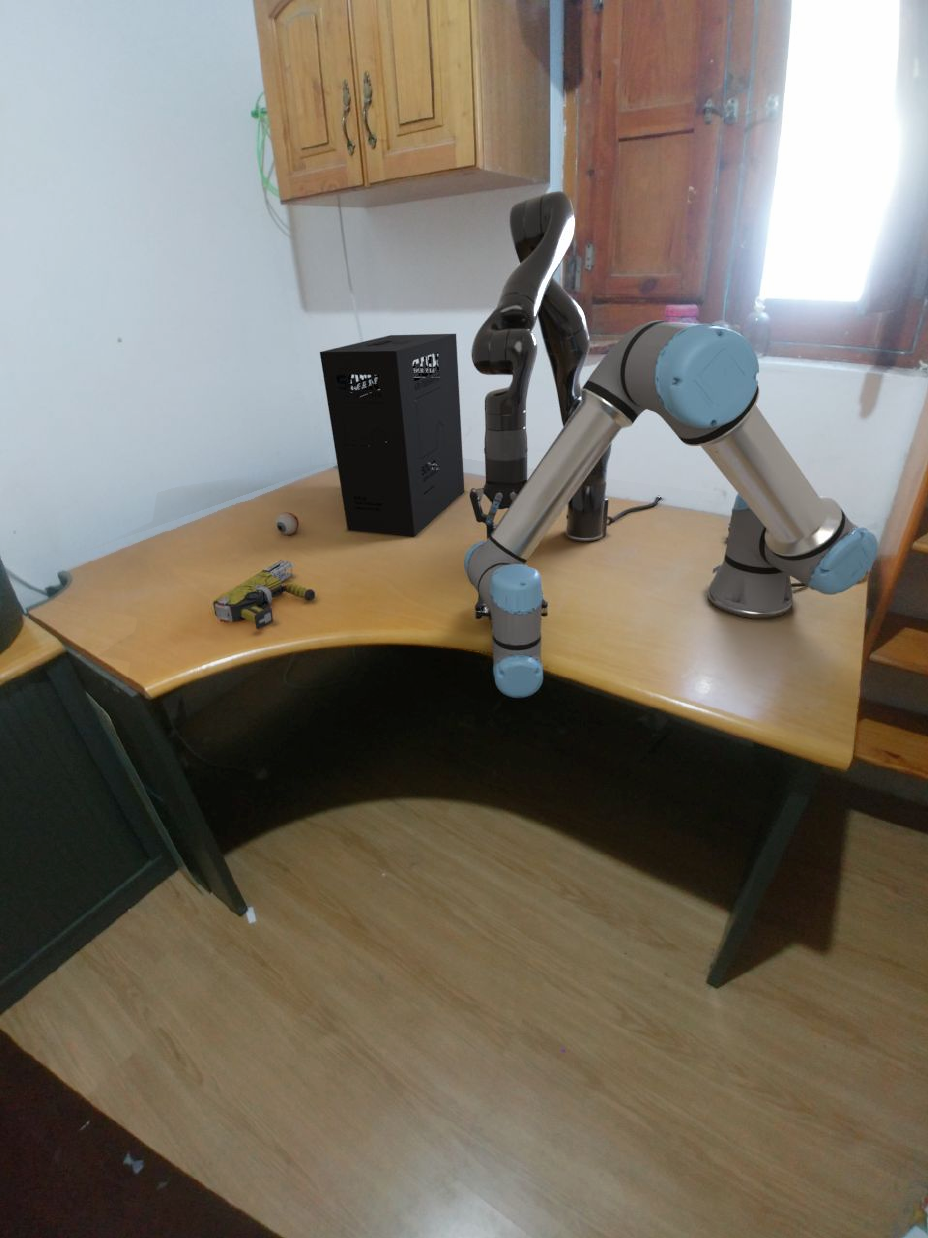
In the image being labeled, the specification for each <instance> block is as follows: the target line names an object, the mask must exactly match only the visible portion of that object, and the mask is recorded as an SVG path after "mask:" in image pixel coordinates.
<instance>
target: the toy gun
mask: <svg viewBox="0 0 928 1238" xmlns="http://www.w3.org/2000/svg"><path fill="white" fill-rule="evenodd" d="M288 569H290V570H291V571H290V572H287V570H288ZM292 576H293V565H292V562H291V561H290V560H286V561H285V560H284V559H280V560H279V561H277V562H275V563H273V565H271V566H269V567H268V568H266V569H262V570H261V571H259V572H258V573H255V575H253V576H251V577H250V578H248V579H246V580H245V581H243V582H241V583H240V584H238V585H236V586H234V587H233V588H232V589H230V590H228V591H227V592H225V593H224V594H222V595H220V596H219V597H217V598H216V599H214V600H213V601H212V605H213V612H214V616H215V617H216V618H217V619H219V622H221V623H225V624H227V623H229V622H230V623H236V622H238V623H239V622H242V621H246V620H247V621H249V622H252V623H254V624H255V628H256V630H261V629H263V628H264V627H266V626H268V625H270V624H271V623H273V622H274V615H273V609H272V607H271V605H272V603H273V599H274V598H276V597H279V596H281V595H282V594H283V593H287V594H291V595H293V596H296V597H299V598H300V599H304V600H306V601H308V602H311V601H312V600H314V599H315V598H316V593H315V591H314V589H312V588H307V587H305V586H302V585H299V584H296V583H293V582H292V581H289V582H286V584H285V585H284V584H283V583H282V582H284V581H286V580H287V579H288V578H290V577H292Z"/></svg>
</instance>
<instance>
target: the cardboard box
mask: <svg viewBox="0 0 928 1238" xmlns="http://www.w3.org/2000/svg"><path fill="white" fill-rule="evenodd" d="M457 341H458V340H457V333H429V334H427V333H424V334H423V333H421V334H389V335H386V336H381V337H377V338H373V339H368V340H364V341H360V342H355V343H351V344H348V345H344V346H340V347H335V348H331V349H326V350H323V351H319V358H320V364H321V370H322V376H323V382H324V388H325V396H326V401H327V407H328V414H329V421H330V426H331V432H332V433H331V434H332V440H333V446H334V451H335V452H334V453H335V458H336V459H335V460H336V465H337V471H338V478H339V484H340V490H341V496H342V501H343V503H342V504H343V509H344V515H345V522H346V529H347V530H348V531H356V532H365V533H377V534H384V535H385V534H387V535H396V536H406V537H416V536H417V535H418V534H419V533H421V532H422V531H423V530H424V529H425V528H426V527H427V526H428V525H429V524H430V523H431V522H433V520H435V519H436V518H437V517H438V516H439V515H440V514H442V513H443V512H444V510H446V509H447V508H448V507H449V506H450V505H451V504H452V503H454V502H455V501H456V500H457V499H458V498H459V497H460V496H462V494H463V493H465V475H464V474H465V473H464V459H463V457H464V455H463V437H462V418H461V417H462V416H461V399H460V398H461V397H460V379H459V361H458V360H459V359H458V343H457ZM433 356H434V357H433ZM422 358H423V361H422ZM416 360H418V363H417V361H416ZM434 362H435V365H434ZM421 364H422V365H421ZM352 376H353V377H352ZM356 376H357V378H356ZM361 376H362V377H361ZM369 376H370V377H369ZM362 378H363V379H362Z"/></svg>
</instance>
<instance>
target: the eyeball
mask: <svg viewBox="0 0 928 1238" xmlns="http://www.w3.org/2000/svg"><path fill="white" fill-rule="evenodd" d="M299 525H300V522H299V519H298V517H297V516H296V515H295V514H294V513H292V512H287V511H286V512H282V513H280V514H279V515H278V516H277V517H276V520H275V527H276V529H277V530H278V531H279V532H280V533H281V534H282V535H285V536H286V535H287V536H289V535H293V534H295V533H296V532H297V531H298V529H299Z"/></svg>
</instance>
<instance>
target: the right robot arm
mask: <svg viewBox="0 0 928 1238" xmlns="http://www.w3.org/2000/svg"><path fill="white" fill-rule="evenodd" d="M758 359H759V358H758V357H757V353H756V351H755V348H754V347H753V345H752V344H751V343H750V342H749V340H748V339H747V338H746V337H745V336H743V335H742V334H740V333H739V332H737V331H735V330H733V329H729V328H727V327H724V326H722V325H717V324H715V323H714V324H713V323H690V322H677V321H670V320H652V321H648V322H644V323H642V324H640V325H638V326H636V327H634V328H633V329H632V330H630V331H629V332H627V333H625V334H624V335H623V336H622V337H621V338H620V339H619V340H617V342H616V343H615V344H614V345H613V346H612V347H611V348H610V350H608V352H607V353H606V354H605V356H603V358H602V359H601V361H600V362H598V364H597V366H596V367H595V369H594V370H593V371H592V372H591V374H590V375H589V377H588V378H587V380H586V381H585V382H584V385H583V386H582V387H581V390H580V393H581V402H580V404H579V405H578V407H577V408H576V410H575V411H574V412H573V414H572V415H571V417H570V418H569V420H568V421H567V423H566V424H565V426H564V427H563V426H562V428H561V430H560V432H559V433H558V434H557V436H556V438H555V439H554V441H553V442H552V443H551V445H550V446H549V448H548V449H547V451H546V452H545V454H544V455H543V456H542V458H541V459H540V461H539V463H538V464H537V465H536V467H535V469H534V470H533V471H532V473H531V474H530V476H529V477H528V478H527V482H526V483H525V485H524V486H523V488H522V489H521V491H520V492H519V494H518V495H517V496H516V498H515V499H514V501H513V502H512V504H511V505H510V507H509V508H507V509H506V511H505V512H504V514H503V516H502V517H501V518H500V520H499V521H498V523H497V526H496V527H495V529H494V530H493V532H492V533H491V535H490V536H489V538H488V539H487V538H486V540H482V541H479V542H477V543H475V544H473V545H472V546H470V547H469V548H468V549H467V551H466V553H465V555H464V557H463V569H464V572H465V574H466V576H467V579H468V581H469V583H470V585H472V586H473V587H474V589H475V590H476V591H477V593H478V594H477V596H478V597H477V602H476V604H475V605H474V617H475V620H481V619H482V618H483V617H486V618H488V620H489V621H490V623H491V642H492V661H493V664H492V665H493V667H492V675H493V677H494V683H495V686H496V688H497V690H499V691H500V693H502V694H503V695H504V696H507V697H510V698H513V699H522V698H527V697H530V696H533V695H534V694H536V692H538V691H539V689H540V688H541V686H542V684H543V681H544V665H543V664H542V617H544V618H545V617H548V611H549V609H548V608H549V603H548V601H546V600H545V599H544V592H543V586H542V576H541V573H540V572H539V571H538V570H537V569H536V568H534V567H529V565H527V564H526V563H527V562H528V560H529V559H530V557H531V556H532V555H533V553H534V551H535V550H536V549H537V547H538V546H539V545H540V543H541V542H542V540H543V539H544V538H545V536H546V535H547V533H548V532H549V530H550V529H551V528H552V526H553V525H554V523H555V522H556V521H557V520H558V518H559V517H560V515H561V514H562V513H563V511H564V510H565V509H566V508H567V504H568V502H569V501H570V500H571V498H572V497H573V495H574V494H575V493H576V491H577V490H578V489H579V487H580V486H581V484H582V483H583V482H584V480H585V479H586V477H587V476H588V475H589V473H590V472H591V470H592V469H593V468H594V466H595V465H596V463H597V462H598V461H599V459H600V458H601V456H602V455H603V454H604V452H605V451H606V449H607V448H608V447H609V445H610V444H611V442H612V443H613V441H614V440H615V439H616V437H617V436H618V434H619V433H620V431H621V430H623V429H626V428H630V427H632V426H633V424H634V423H635V422H636V420H637V419H638V417H639V416H640V415H641V414H642V413H644V411H646V410H648V411H651V412H653V413H656V414H657V415H658V416H659V417H660V418H662V419H663V421H664V422H665V423H666V425H668V427H669V428H670V429H671V430H672V431H673V432H674V434H675V435H676V436H677V438H678V439H679V440H680V441H681V442H682V443H683V444H684V445H687V446H690V447H700V448H702V450H703V451H704V452H705V453H706V455H707V456H708V457H709V459H710V460H711V461H712V463H713V464H714V465H715V466H716V468H717V469H718V470H719V472H721V474H722V475H723V477H725V479H726V480H727V481H728V482H729V484H730V485H731V486H732V488H734V490H735V491H736V493H737V494H736V496H735V500H734V503H733V507H732V508H731V514H730V515H731V516H730V522H729V523H730V527H729V531H728V534H727V537H728V540H726V546H725V553H724V559H723V562H722V563H721V564H719V565H718V566H716V567H713V569H712V574H714V573H716V574H715V575H714V577H713V579H712V581H711V582H710V585H709V587H708V593H707V598H708V600H709V602H710V603H711V604H712V605H713V606H714V607H716V608H717V609H719V610H721V611H722V612H724V613H727V614H729V615H733V616H737V617H742V618H745V619H756V620H757V619H758V620H765V619H775V618H779V617H781V616H784V615H786V614H787V613H789V612H790V611H791V608H792V604H793V601H794V600H793V598H794V597H793V596H794V594H793V588H798V587H799V588H800V587H805V586H807V587H808V589H810V590H813V591H816V592H818V593H821V594H823V595H827V596H828V595H829V596H830V595H831V596H832V595H837V594H839V593H843V592H845V591H847V590H849V589H850V588H853V587H854V586H855V585H857V583H859V582H860V581H861V580H862V579H863V577H864V576H865V575H866V574H867V573H868V572H869V570H870V569H871V568H872V565H873V563H874V561H875V559H876V558H877V554H878V550H879V543H878V539H877V536H876V535H875V534H874V533H873V532H871V531H869V530H868V529H867V527H864V526H860V527H859V526H858V525H856V524H854V523H853V522H852V521H851V520H850V519H849V518H848V516H847V515H846V514H845V512H844V510H843V509H842V507H841V506H840V505H839V503H838V502H837V501H836V500H835V499H833V498H832V497H829V496H826V495H819V494H818V493H817V491H816V489H814V487H813V486H812V484H811V483H810V481H809V480H808V478H807V477H806V476H805V474H804V472H803V471H802V470H801V468H800V467H799V465H798V464H797V462H796V461H795V459H794V458H793V456H792V455H791V454H790V452H789V450H788V449H787V448H786V446H785V445H784V444H783V442H782V441H781V439H780V438H779V436H778V435H777V433H776V432H775V430H774V429H773V427H772V426H771V425H770V423H769V422H768V420H767V418H765V416H764V415H763V413H762V412H761V410H760V409H759V407H758V406H757V403H758V400H759V397H760V387H759V386H760V385H759V381H758V379H757V374H758V373H760V364H759V360H758ZM791 578H793V579H795V580H796V581H799V582H792V581H791Z"/></svg>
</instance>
